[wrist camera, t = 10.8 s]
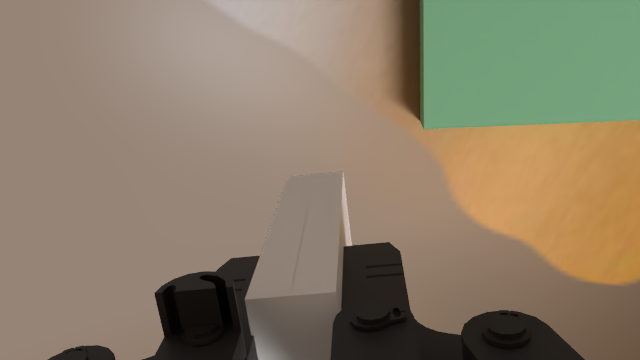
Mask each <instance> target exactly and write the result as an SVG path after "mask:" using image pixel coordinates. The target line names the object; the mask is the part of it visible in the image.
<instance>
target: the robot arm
mask: <svg viewBox="0 0 640 360" xmlns="http://www.w3.org/2000/svg"><path fill="white" fill-rule="evenodd" d="M155 298H156V302H157V306H158V311H159V315H160V319H161V323H162V328H163V332H164V336H165V337H164V339H163V341H162V343H161V345H160V347H159V349H158V350H157V352H156V354H155V356H152V357H149V358H146V359H143V360H584V359H583V358H582V357H581V356H580V355H579V354H578V353H577V352H576V351H575V350H574V349H573V348H572V347H571V346H570V345H569V344H568V343H566V342H565V341H564V340H563V339H562V338H561V337H560V336H559V335H558V334H557V333H556V332H555V331H554V330H553V329H552V328H550V327H549V326H548V325H547V324H546V323H544V322H542V321H541V320H539V319H538V318H536V317H534V316H530V315H527V314H524V313H521V312H516V311H506V310H500V311H496V312H495V311H494V312H486V313H484V314H481V315H478V316H475V317H473V318H472V319H470V320H469V321H468V322H467V323H465V324H464V327H463V329H462V332H461V335H456V334H448V333H443V332H437V331H435V330H432V329H429V328H426V327H425V326H423V325H421V324H420V323H418V322H417V321H416V320H415V319H414V316H413V314H412V313H411V311H410V306H409V300H408V295H407V289H406V283H405V277H404V271H403V266H402V260H401V254H400V251H399V250H398V249H396V248H395V247H394V246H393V245H392V244H390V243H389V242H387V243H376V244H365V245H354V246H352V243H351V235H350V226H349V218H348V208H347V200H346V191H345V183H344V174H343V171H340V172H329V173H319V174H310V175H300V176H290V177H287V179H286V182H285V185H284V188H283V191H282V194H281V197H280V200H279V202H278V205H277V208H276V211H275V214H274V217H273V220H272V222H271V225H270V228H269V231H268V234H267V237H266V240H265V243H264V246H263V248H262V251H261V254H260V256H252V257H241V258H232V259H230V260H229V261H227V262H226V263H225V264H224V265H222V266H221V267H220V268H219V269H218V270H217V271H216V272H198V273H192V274H187V275H184V276H182V277H179V278H176V279H173V280H172V281H170V282H168V283H166V284H165V285H163V286H161V288H159V289H158V290H157V291H156V292H155ZM48 360H115V356H114V354H113V352H112V351H111V350H110V349H109V348H106V347H102V346H80V347H76V348H71V349H67V350H65V351H63V352H62V353H60V354H58V355H56V356H53V357H51V358H50V359H48Z"/></svg>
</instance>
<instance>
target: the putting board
mask: <svg viewBox="0 0 640 360" xmlns="http://www.w3.org/2000/svg"><path fill="white" fill-rule="evenodd" d="M628 120H640V0H420V122H421V124H422V126H423V128H424V129H438V128H462V127H486V126H509V125H533V124H557V123H580V122H604V121H628Z"/></svg>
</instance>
